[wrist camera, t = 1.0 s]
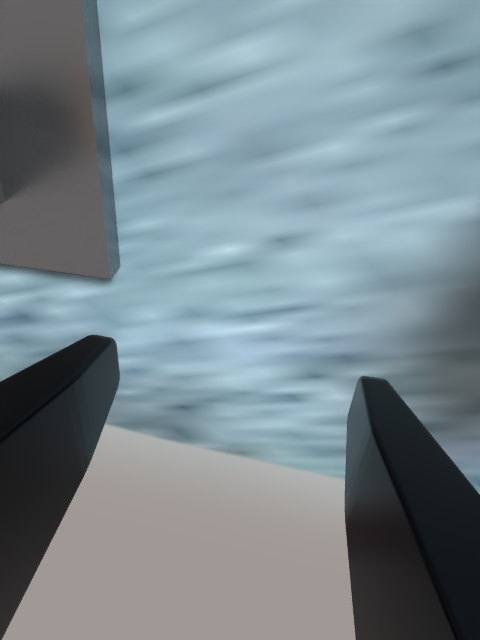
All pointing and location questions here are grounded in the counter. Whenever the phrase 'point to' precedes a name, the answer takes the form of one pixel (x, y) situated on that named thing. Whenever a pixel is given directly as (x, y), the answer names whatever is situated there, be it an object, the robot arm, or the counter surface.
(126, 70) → the counter surface
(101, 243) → the breaker strip
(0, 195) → the block
